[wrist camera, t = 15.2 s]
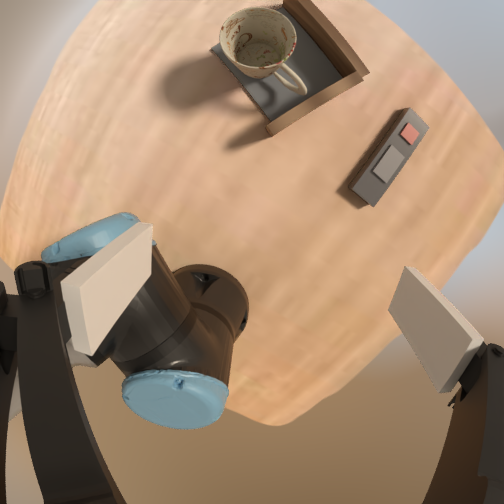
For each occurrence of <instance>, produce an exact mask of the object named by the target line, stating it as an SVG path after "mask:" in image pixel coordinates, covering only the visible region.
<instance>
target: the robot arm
mask: <svg viewBox="0 0 504 504" xmlns="http://www.w3.org/2000/svg"><path fill="white" fill-rule="evenodd" d="M152 230H153V224H150V223H144V222H141V221H140V220H139V218H138V217H137V216H135V215H134V214H131V213H127V212H123V213H118V214H115V215H112V216H109V217H107V218H104V219H102V220H99V221H97V222H95V223H92V224H90V225H88V226H86V227H84V228H81V229H79V230H77V231H75V232H73V233H72V234H70V235H68V236H66V237H64V238H62V239H61V240H60V241H58V242H56V243H54V244H53V245H50V246H49V247H47V248H46V249H44V250H43V251H42V254H41V257H42V261H30V262H26V263H24V264H21V265H20V266H18V267H17V268H16V269H15V271H14V275H15V280H16V285H17V290H18V294H19V295H10V294H6V290H5V286H4V283H3V282H1V281H0V504H7V503H6V484H5V462H6V461H5V460H6V440H7V430H8V422H9V421H10V420H12V419H13V418H14V417H15V416H16V415H17V414H19V413H20V412H21V411H22V414H23V420H24V426H25V431H26V436H27V441H28V446H29V450H30V454H31V458H32V462H33V466H34V470H35V473H36V476H37V480H38V483H39V486H40V489H41V492H42V495H43V499H44V504H127V503H126V502H125V500H124V498H123V496H122V494H121V493H120V491H119V489H118V487H117V485H116V483H115V481H114V479H113V478H112V475H111V473H110V471H109V470H108V467H107V465H106V463H105V461H104V459H103V456H102V454H101V452H100V449H99V447H98V445H97V442H96V440H95V437H94V435H93V432H92V430H91V427H90V424H89V422H88V419H87V416H86V413H85V410H84V407H83V404H82V401H81V398H80V395H79V392H78V388H77V385H76V382H75V378H74V375H73V371H72V368H73V367H74V366H79V365H81V366H87V367H94V368H96V367H98V366H99V365H100V364H101V363H103V362H104V361H105V360H106V359H108V358H109V357H110V358H111V360H112V361H113V362H114V363H115V364H116V365H117V367H118V368H119V369H120V370H121V371H122V372H123V374H124V375H125V376H126V379H124V381H123V383H122V393H123V394H122V397H123V400H124V402H125V403H126V405H127V406H128V407H129V408H130V409H131V410H132V411H133V412H134V413H136V414H137V415H138V416H140V417H142V418H143V419H145V420H147V421H150V422H152V423H155V424H158V425H160V426H165V427H169V428H174V429H196V428H201V427H205V426H208V425H210V424H212V423H213V422H215V421H216V420H217V419H219V417H220V416H221V414H222V413H223V410H224V407H225V403H226V399H227V397H228V395H229V390H228V384H229V376H230V368H231V360H232V352H233V344H234V342H235V341H236V340H237V338H238V337H239V336H240V334H241V333H242V332H243V330H244V328H245V326H246V323H247V320H248V312H249V302H248V297H247V294H246V292H245V290H244V288H243V287H242V285H241V284H240V283H239V282H238V280H237V279H236V278H234V277H233V276H232V275H231V274H229V273H228V272H226V271H224V270H222V269H220V268H217V267H214V266H210V265H203V264H196V265H189V266H186V267H183V268H181V269H179V270H177V271H176V272H174V273H173V274H172V272H171V271H170V269H169V267H168V266H167V264H166V262H165V261H164V259H163V257H162V255H161V254H160V252H159V250H158V248H157V246H156V245H157V244H156V242H155V241H154V240H152ZM388 311H389V312H390V314H391V315H392V317H393V318H394V320H395V322H396V323H397V325H398V326H399V328H400V329H401V331H402V333H403V334H404V336H405V337H406V339H407V341H408V342H409V344H410V345H411V347H412V349H413V350H414V352H415V353H416V355H417V357H418V359H419V360H420V362H421V363H422V365H423V367H424V369H425V371H426V372H427V374H428V376H429V378H430V379H431V381H432V383H433V385H434V386H435V388H436V390H437V392H438V393H445V392H451V390H452V389H453V388H454V386H455V385H456V383H457V382H458V381H459V382H460V384H461V388H460V389H459V390H458V392H457V393H456V394H455V396H454V397H453V399H452V400H451V401H450V402H449V404H448V406H450V405H451V404H452V403H455V404H454V406H453V407H452V408H453V413H452V418H451V422H450V426H449V430H448V433H447V437H446V440H445V444H444V447H443V450H442V454H441V457H440V460H439V463H438V466H437V468H436V471H435V474H434V477H433V479H432V482H431V484H430V487H429V490H428V492H427V494H426V497H425V499H424V501H423V503H422V504H504V349H503V348H502V347H501V346H499V345H496V344H492V343H490V344H488V345H486V344H485V343H484V341H483V340H484V339H483V338H482V336H481V335H480V334H479V333H478V332H477V331H476V330H475V328H473V326H472V325H471V324H470V323H469V322H468V321H467V320H466V318H465V317H464V316H463V315H462V314H461V313H460V312H459V311H458V310H457V309H456V308H455V307H454V306H453V305H452V304H451V303H450V302H449V300H447V298H445V296H444V295H443V294H442V293H441V292H440V291H439V290H438V289H437V288H436V287H435V286H434V285H433V284H432V283H431V282H430V281H429V280H428V279H427V278H426V277H424V276H423V275H422V274H421V273H420V272H419V271H418V270H417V269H416V268H413V267H407V266H405V267H404V270H403V273H402V275H401V278H400V281H399V283H398V286H397V289H396V291H395V294H394V296H393V299H392V301H391V304H390V306H389V309H388Z"/></svg>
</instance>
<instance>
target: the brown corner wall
mask: <svg viewBox="0 0 504 504" xmlns="http://www.w3.org/2000/svg"><path fill="white" fill-rule="evenodd" d="M283 7H284V8H285V9H286V11H287V12H288V13H289V14H290V15H291V16H292V17H293V18H294V19H295V20H296V21H297V22H298V23H299V24H300V26H301V27H302V28H303V29H304V30H305V31H306V32H307V33H308V35H309V36H310V37H311V38H312V39H313V40H314V42H315V43H316V44H317V45H318V46H319V48H320V49H321V50H322V51H323V53H324V54H325V55H326V56H327V58H328V59H329V60H330V61H331V63H332V64H333V65H334V67H335V68H336V69H337V71H338V72H339V73H340V75H341V76H342V77H343V79H341V80H339V81H338V82H336V83H334V84H332V85H331V86H329V87H327V88H325V89H324V90H322V91H320V92H319V93H317V94H315V95H314V96H312V97H310V98H309V99H307V100H305V101H304V102H302V103H300V104H299V105H297V106H296V107H294V108H292V109H291V110H289V111H288V112H286V113H285V114H283V115H281V116H280V117H278V118H277V119H275V120H274V121H272V122H271V123H269V124H268V125H266V130H267V131H268V132H269V134H270V135H271V136H274V135H275V134H277V133H278V132H280V131H281V130H283V129H284V128H286V127H287V126H289V125H290V124H292V123H294V122H295V121H297V120H298V119H300V118H301V117H303V116H305V115H306V114H308V113H309V112H311V111H313V110H314V109H316V108H317V107H319V106H321V105H322V104H324V103H326V102H327V101H329V100H331V99H332V98H334V97H336V96H338V95H339V94H341V93H343V92H344V91H346V90H348V89H350V88H351V87H353V86H355V85H357V84H358V83H360V82H362V81H364V80H363V79H362V77H364V76H365V75H367V74H369V73H370V72H369V70H368V69H367V68H366V66H365V65H364V63H363V62H362V61H361V59H360V58H359V57H358V55H357V54H356V53H355V51H354V50H353V49H352V48H351V46H350V45H349V44H348V42H347V41H346V40H345V39H344V37H343V36H342V35H341V34H340V33H339V31H338V30H337V29H336V28H335V27H334V26H333V24H332V23H331V22H330V21H329V20H328V19H327V18H326V16H325V15H324V14H323V13H322V12H321V11H320V10H319V9H318V8H317V7H316V6H315V5H314V4H313V3H312V1H311V0H283Z"/></svg>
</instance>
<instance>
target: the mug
mask: <svg viewBox="0 0 504 504" xmlns="http://www.w3.org/2000/svg"><path fill="white" fill-rule="evenodd" d="M219 40H220V45H221V48H222V50H223V52H224V54H225V55H226V56H227V58H228V59H229V60H230V61H231V62H232V63H233V64H234V65H235V66H236V67H237V68H239V69H240V70H241V71H242V72H243V73H244V74H245V75H247V76H249V77H252V78H257V79H260V78H266V77H269V76H271V75H272V74H273V75H274V76H275V77H276V78H277V79H278V80H279V81H280V82H281V83H282V84H283V85H284V86H285V87H286V88H288V89H289V90H291V91H293V92H295V93H297V94H300V95H306V94H307V88H306V86H305V85H304V83H303V81H302V80H301V79H300V78H299V76H298V75H297V74H296V73H295V72H294V71H292V70H291V69H290V68H289V67H288V66H287V65H286V64H284V62H285V61H286V60H287V59H288V58H289V57H290V55H291V54H292V52H293V51H294V48H295V45H296V32H295V29H294V27H293V25H292V23H291V22H290V21H289V19H288V18H287V17H285V16H284V15H283V14H281V13H280V12H278V11H276V10H273V9H270V8H265V7H251V8H246V9H243V10H240V11H238V12H236V13H234V14H233V15H231V16H230V17H229V18H228V19H227V20H226V21H225V23H224V24H223V26H222V28H221V31H220V38H219ZM279 68H281V69H282V70H283V71H284V72H285V73H286V74H288V75H289V76H290V77H291V78H292V79H293V80H294V82H295V83H296V84H297V86H298V87H296V86H294V85H292V84H291V83H289V82H288V81H287V80H285V79H284V78H283V77H282V76H280V75H279V74H278V73H276V71H277V70H278V69H279Z"/></svg>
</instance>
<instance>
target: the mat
mask: <svg viewBox="0 0 504 504" xmlns="http://www.w3.org/2000/svg"><path fill="white" fill-rule="evenodd" d="M276 11H278V12H280V13H281V14H283V15H284V16H285V17H287V18H288V19H289V21H290V22H291V23H292V25H293V27H294V29H295V32H296V45H295V48H294V51H293V52H292V54H291V55H290V57H289V58H288V59H287V60H286V61H285V62H284V64H286V65H287V66H288V67H289V68H290V69H291V70H292V71H294V72H295V73H296V74H297V75H298V76H299V78H300V79H301V80H302V81H303V83H304V85H305V86H306V88H307V94H306V95H300V94H297V93H295V92H293V91H291V90H289V89H288V88H286V87H285V86H284V85H283V84H282V83H281V82H280V81H279V80H278V79H277V78H276V77H275V76H274V75H273V74H272V75H271V76H269V77H266V78H260V79H257V78H252V77H249V76H247V75H245V74H244V73H243V72H242V71H241V70H240V69H239V68H237V67H236V66H235V65H234V64H233V63H232V62H231V61H230V60H229V59H228V58H227V56H226V55H225V54H224V52H223V50H222V48H221V45H220V43H219V44H217V45H215V46H214V47H212V50H213V51H214V52H215V53H216V54H217V55H218V56H219V58H220V59H221V60H222V61H223V62H224V63H225V65H226V66H227V67H228V68H229V69H230V70H231V72H232V73H233V74H234V75H235V76H236V78H237V79H238V80H239V81H240V83H241V84H242V85H243V86H244V87H245V89H246V90H247V91H248V92H249V94H250V95H251V96H252V97H253V99H254V100H255V101H256V103H257V104H258V105H259V106H260V108H261V109H262V110H263V112H264V113H265V114H266V116H267V117H268V118H269V120H270V121H271V122H272V121H274V120H275V119H277V118H278V117H280V116H281V115H283V114H284V113H286V112H287V111H289V110H291V109H292V108H294V107H295V106H297V105H299V104H300V103H302V102H303V101H305V100H307V99H308V98H310V97H312V96H313V95H315V94H317V93H318V92H320V91H322V90H323V89H325V88H327V87H328V86H330V85H332V84H334V83H335V82H337V81H339V80H341V79H342V77H341V75H340V74H339V72H338V71H337V70H336V68H335V67H334V66H333V64H332V63H331V62H330V61H329V59H328V58H327V57H326V56H325V54H324V53H323V52H322V51H321V49H320V48H319V47H318V46H317V44H316V43H315V42H314V41H313V40H312V38H311V37H310V36H309V35H308V34H307V33H306V32H305V30H304V29H303V28H302V27H301V26H300V25H299V24H298V23H297V22H296V20H295V19H294V18H293V17H292V16H291V15H290V14H289V13H288V12H287V11H286V10H285V9H284V8H283V7H282V8H280V9H278V10H276ZM276 73H278V74H279V75H280V76H282V77H283V78H284V79H285V80H287V81H288V82H289V83H291V84H292V85H294V86H296V87H298V86H297V84H296V83H295V82H294V80H293V79H292V78H291V77H290V76H289V75H288V74H286V73H285V72H284V71H283V70H282V69H281V68H279V69H278V70H277V71H276Z"/></svg>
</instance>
